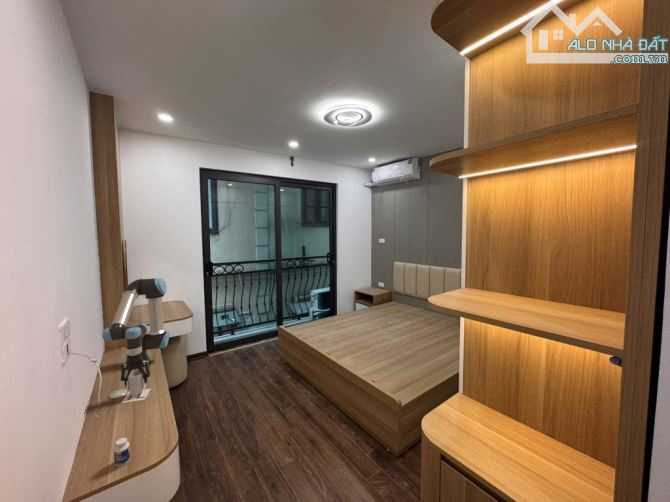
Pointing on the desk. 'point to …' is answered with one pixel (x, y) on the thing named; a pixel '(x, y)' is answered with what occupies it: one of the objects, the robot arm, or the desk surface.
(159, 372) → the desk surface
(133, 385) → the cup
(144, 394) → the tile
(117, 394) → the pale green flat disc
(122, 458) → the pill bottle
